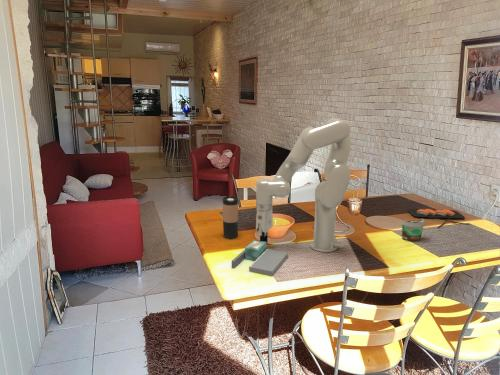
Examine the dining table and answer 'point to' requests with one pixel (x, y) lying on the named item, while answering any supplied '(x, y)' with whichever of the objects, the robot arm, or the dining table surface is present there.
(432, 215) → the sushi plate
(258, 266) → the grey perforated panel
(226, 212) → the travel mug
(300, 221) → the dining table surface
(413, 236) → the food container
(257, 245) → the teal rectangular box
